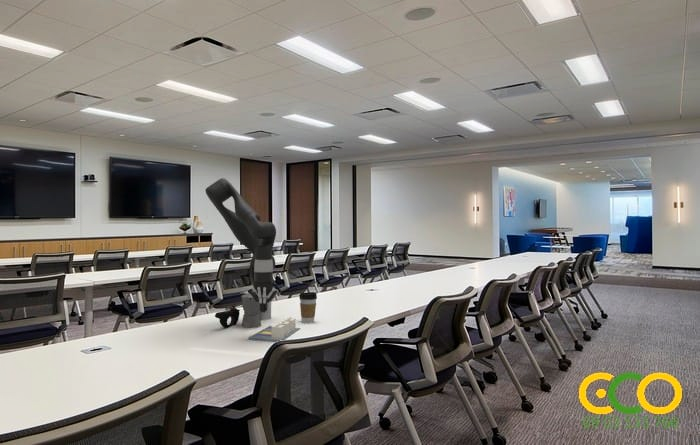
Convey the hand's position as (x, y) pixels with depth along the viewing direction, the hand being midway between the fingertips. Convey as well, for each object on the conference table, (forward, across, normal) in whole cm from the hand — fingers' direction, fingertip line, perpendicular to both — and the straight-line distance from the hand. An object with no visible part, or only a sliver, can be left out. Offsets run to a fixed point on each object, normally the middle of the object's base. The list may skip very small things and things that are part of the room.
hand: (263, 311), depth 184 cm
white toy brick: (+10, +7, -1) cm, 12 cm away
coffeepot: (+12, -13, +17) cm, 25 cm away
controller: (+12, -23, +14) cm, 29 cm away
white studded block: (+11, +7, +12) cm, 18 cm away
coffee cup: (+12, +9, +32) cm, 35 cm away
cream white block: (+10, +7, +6) cm, 14 cm away
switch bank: (+12, +3, +6) cm, 13 cm away
